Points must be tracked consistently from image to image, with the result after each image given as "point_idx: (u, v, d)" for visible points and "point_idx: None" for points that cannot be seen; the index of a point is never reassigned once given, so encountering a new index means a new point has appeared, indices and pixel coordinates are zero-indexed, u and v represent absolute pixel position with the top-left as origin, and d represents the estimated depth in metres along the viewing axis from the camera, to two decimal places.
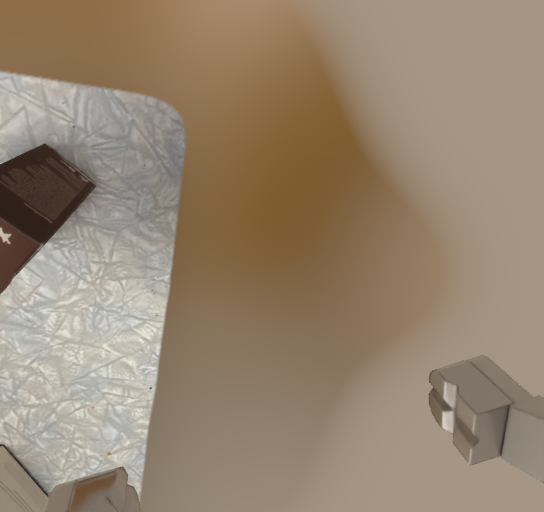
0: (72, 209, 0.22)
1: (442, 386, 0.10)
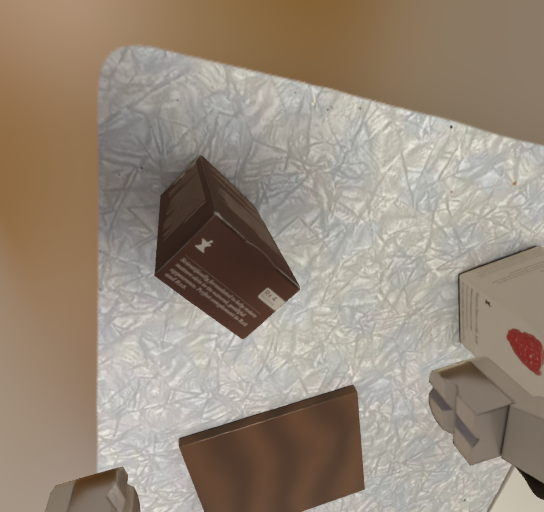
0: (205, 179, 0.21)
1: (442, 386, 0.10)
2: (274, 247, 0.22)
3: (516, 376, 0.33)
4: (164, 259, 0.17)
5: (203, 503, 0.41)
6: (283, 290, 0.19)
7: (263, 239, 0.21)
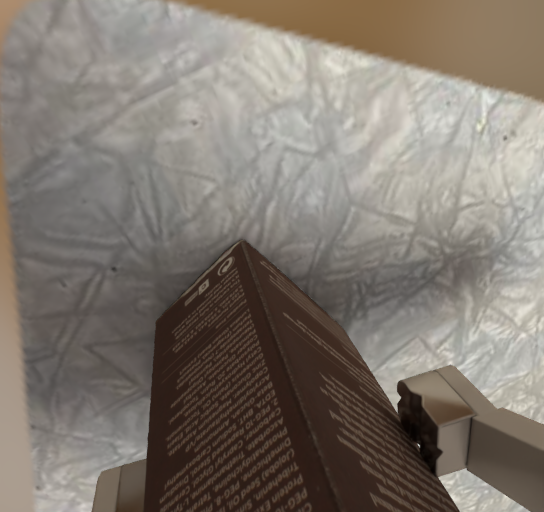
0: (290, 383, 0.07)
1: (408, 397, 0.10)
2: None
3: None
4: None
5: None
6: None
7: None
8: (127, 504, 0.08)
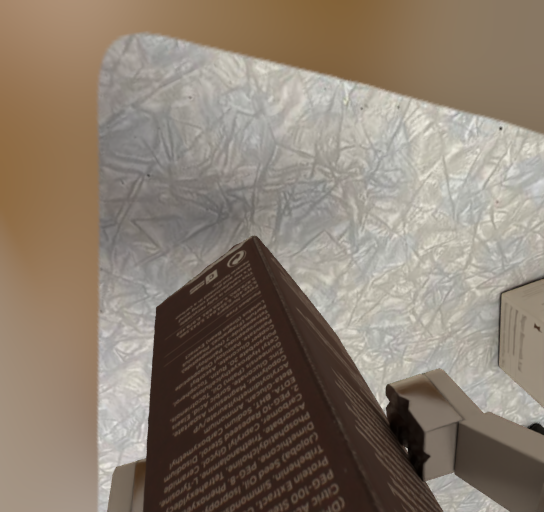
0: (312, 370, 0.07)
1: (396, 401, 0.10)
2: None
3: None
4: None
5: None
6: None
7: None
8: (143, 499, 0.08)
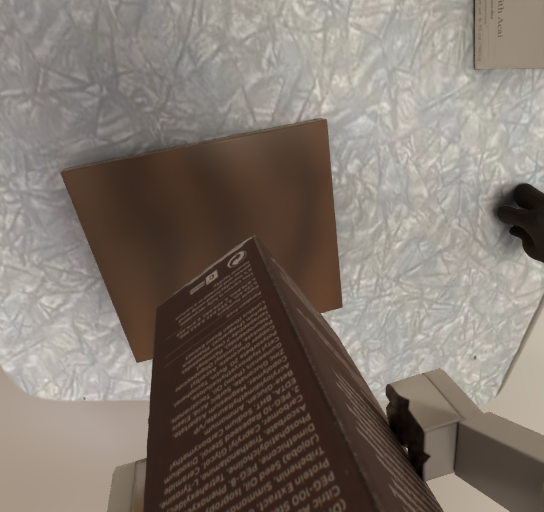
0: (313, 372, 0.07)
1: (396, 401, 0.10)
2: None
3: None
4: None
5: (110, 289, 0.29)
6: None
7: None
8: (143, 499, 0.08)
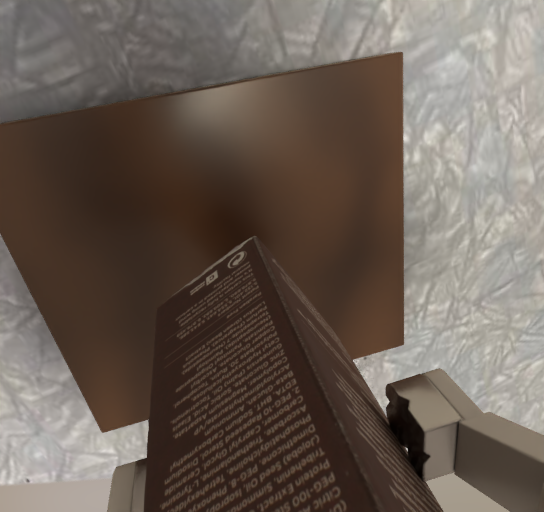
0: (313, 372, 0.07)
1: (396, 400, 0.10)
2: None
3: None
4: None
5: (53, 328, 0.18)
6: None
7: None
8: (143, 499, 0.08)
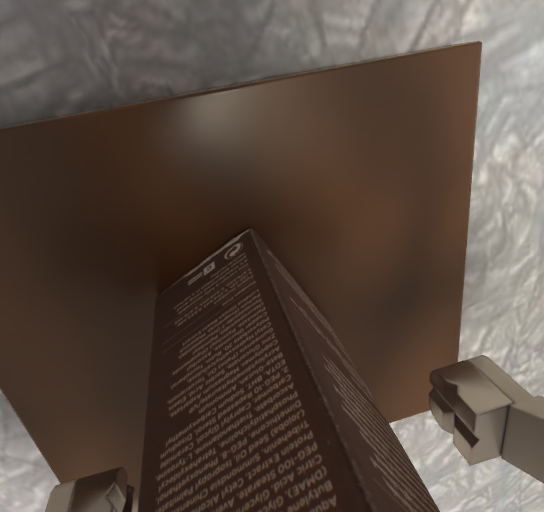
0: (301, 353, 0.07)
1: (442, 386, 0.10)
2: None
3: None
4: None
5: (17, 404, 0.14)
6: None
7: None
8: None
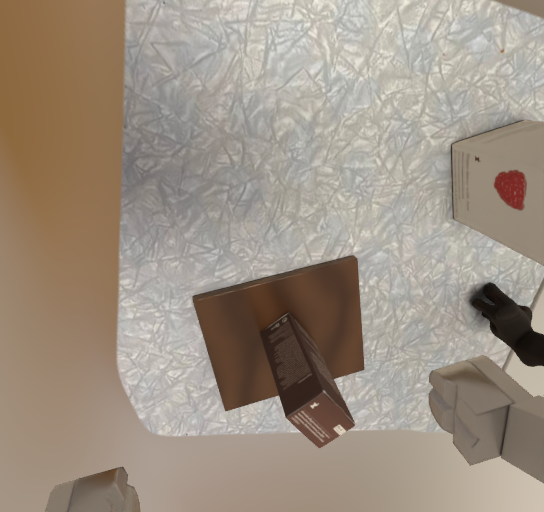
0: (304, 349, 0.37)
1: (442, 386, 0.10)
2: (337, 390, 0.38)
3: (503, 223, 0.36)
4: (291, 409, 0.33)
5: (214, 366, 0.44)
6: (346, 426, 0.35)
7: (334, 388, 0.37)
8: None
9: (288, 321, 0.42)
